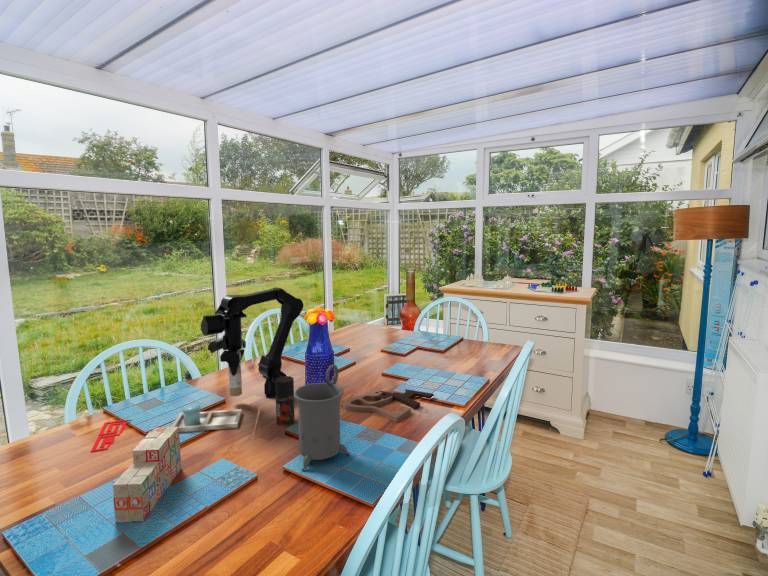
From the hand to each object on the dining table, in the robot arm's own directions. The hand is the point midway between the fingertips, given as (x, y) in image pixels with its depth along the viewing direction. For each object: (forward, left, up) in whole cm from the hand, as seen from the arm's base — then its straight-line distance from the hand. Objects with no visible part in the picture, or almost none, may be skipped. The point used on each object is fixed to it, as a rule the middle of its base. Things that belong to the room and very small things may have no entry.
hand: (234, 373), depth 154 cm
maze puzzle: (+29, +14, -13) cm, 35 cm away
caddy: (+7, +14, -13) cm, 20 cm away
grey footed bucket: (-29, +39, -13) cm, 50 cm away
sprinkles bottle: (0, 0, -8) cm, 8 cm away
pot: (+12, +14, -12) cm, 22 cm away
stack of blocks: (+13, +49, -13) cm, 53 cm away
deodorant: (-18, +16, -13) cm, 27 cm away
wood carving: (-55, +6, -13) cm, 57 cm away
